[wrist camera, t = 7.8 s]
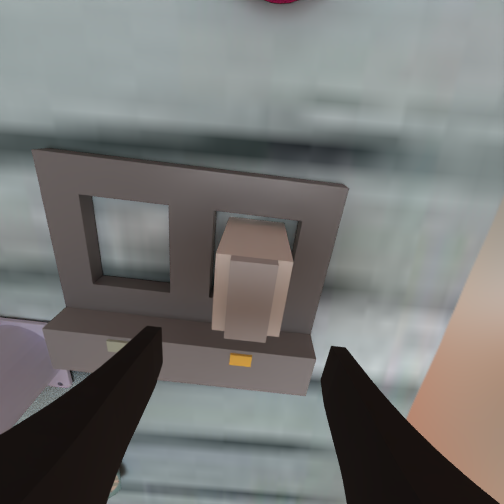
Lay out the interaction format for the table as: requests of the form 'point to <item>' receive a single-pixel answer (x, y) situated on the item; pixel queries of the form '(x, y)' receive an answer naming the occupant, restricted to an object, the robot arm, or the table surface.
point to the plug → (251, 279)
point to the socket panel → (182, 268)
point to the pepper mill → (281, 1)
